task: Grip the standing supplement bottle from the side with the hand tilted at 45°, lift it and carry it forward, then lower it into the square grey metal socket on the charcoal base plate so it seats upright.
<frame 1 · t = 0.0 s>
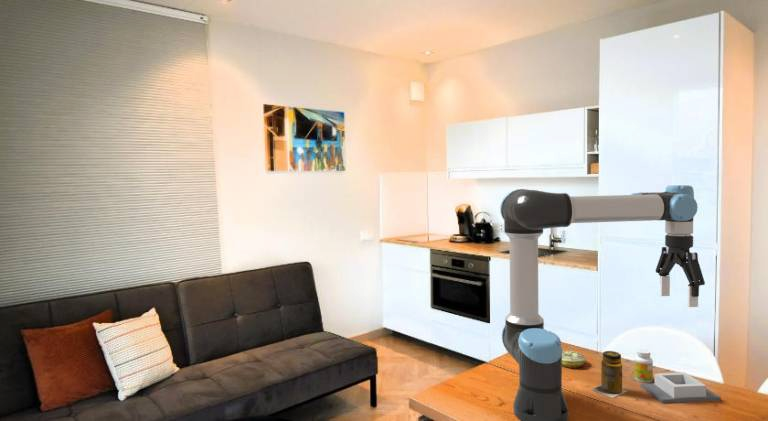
hand: (678, 301, 151), 28 cm above the table, tool pointing down, fingers open, 13 cm apart
socket plate: (679, 393, 149), on the table
decorated donut: (570, 364, 175), on the table
condiment: (609, 391, 152), on the table
supplement bottle: (643, 380, 160), on the table
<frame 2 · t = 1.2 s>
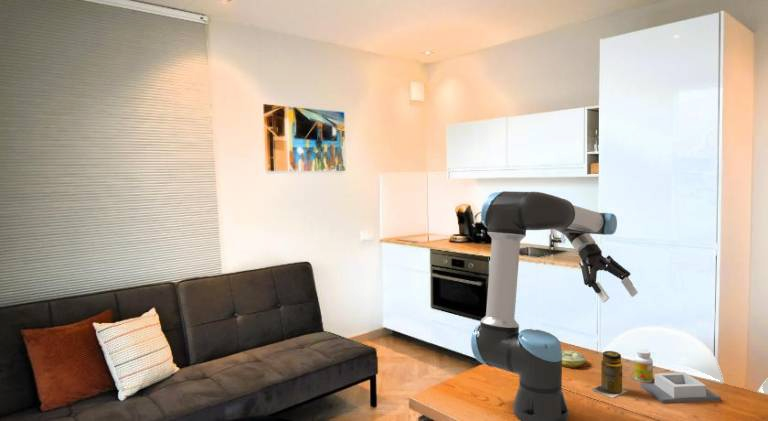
hand: (620, 297, 166), 26 cm above the table, tool tilted 45°, fingers open, 13 cm apart
nothing on the table moved.
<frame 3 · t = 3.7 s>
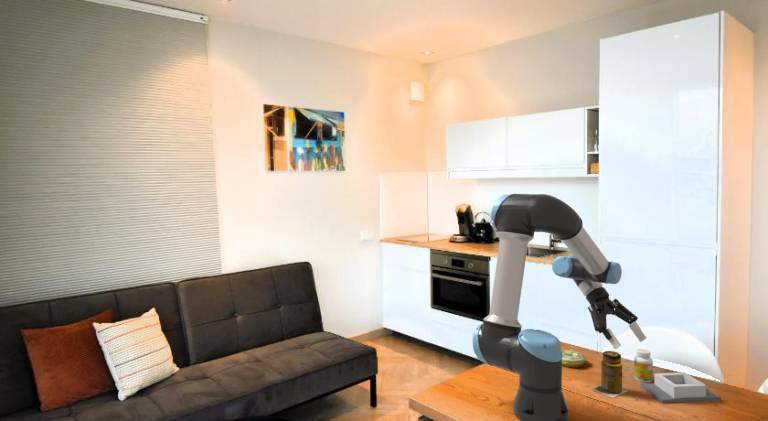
hand: (631, 343, 164), 10 cm above the table, tool tilted 45°, fingers open, 13 cm apart
nothing on the table moved.
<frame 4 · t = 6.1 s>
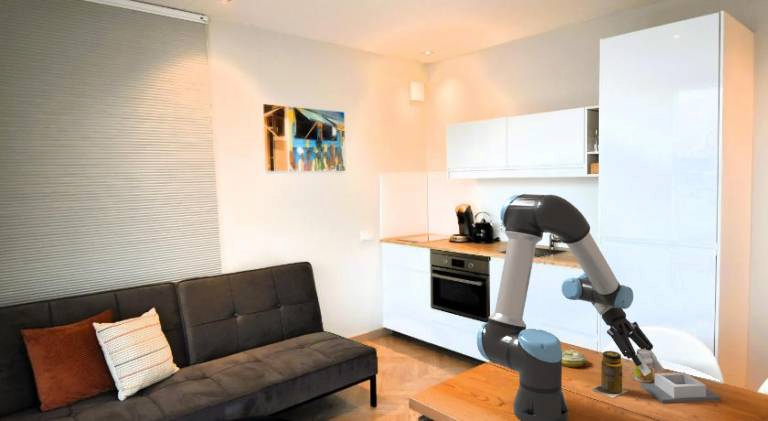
hand: (653, 371, 156), 4 cm above the table, tool tilted 45°, fingers closed on supplement bottle, 5 cm apart
supplement bottle: (643, 380, 160), on the table, touching gripper
everything else where it was.
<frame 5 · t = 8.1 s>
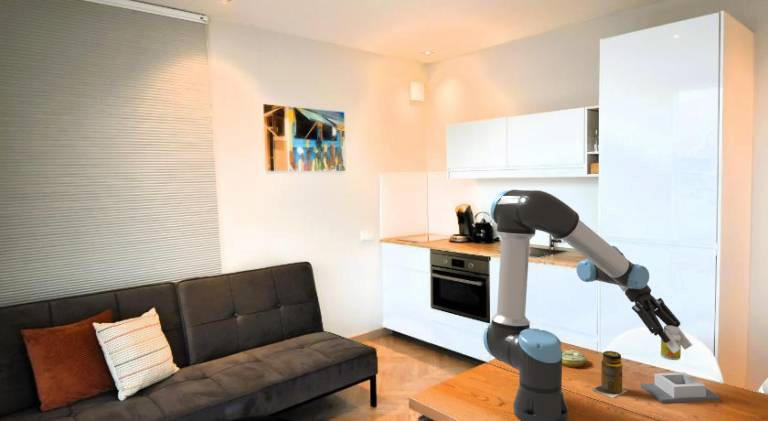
hand: (682, 349, 148), 14 cm above the table, tool tilted 45°, fingers closed on supplement bottle, 5 cm apart
supplement bottle: (670, 358, 151), point 10 cm above the table, touching gripper
everything else where it was.
when the fingers open (7 cm above the table, at t = 10.4 s): supplement bottle drops 2 cm, resting on socket plate.
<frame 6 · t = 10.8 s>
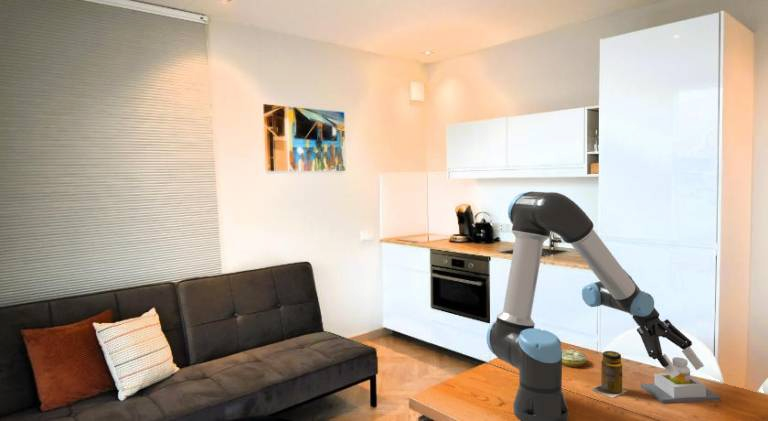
hand: (688, 372, 146), 8 cm above the table, tool tilted 45°, fingers open, 11 cm apart
supplement bottle: (679, 390, 149), point 1 cm above the table, touching socket plate
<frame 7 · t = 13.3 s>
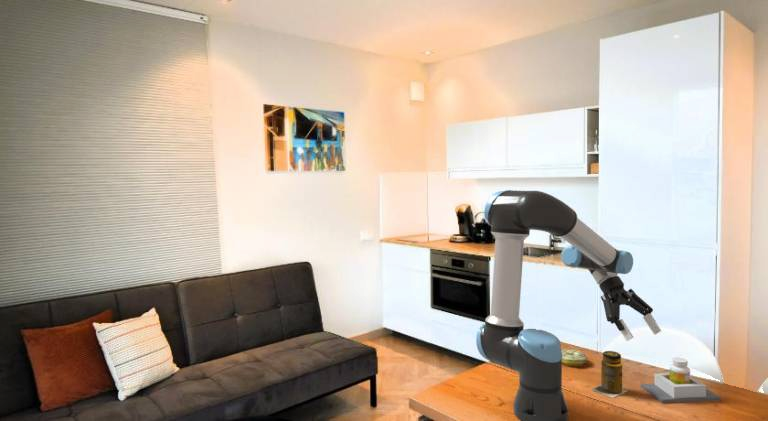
hand: (644, 336, 158), 15 cm above the table, tool tilted 40°, fingers open, 13 cm apart
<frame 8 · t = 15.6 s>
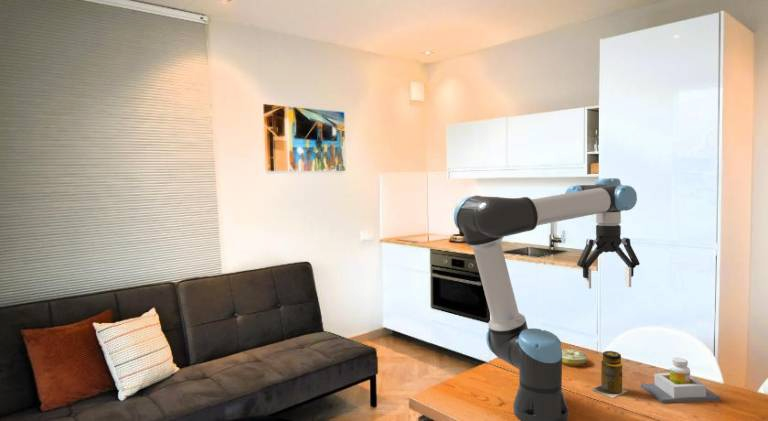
hand: (608, 287, 161), 31 cm above the table, tool pointing down, fingers open, 13 cm apart
at the end: supplement bottle 0.1 cm off-centre on the socket plate, point 0.8 cm above the socket plate's base; supplement bottle tilted 0°; the gripper is holding nothing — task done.
